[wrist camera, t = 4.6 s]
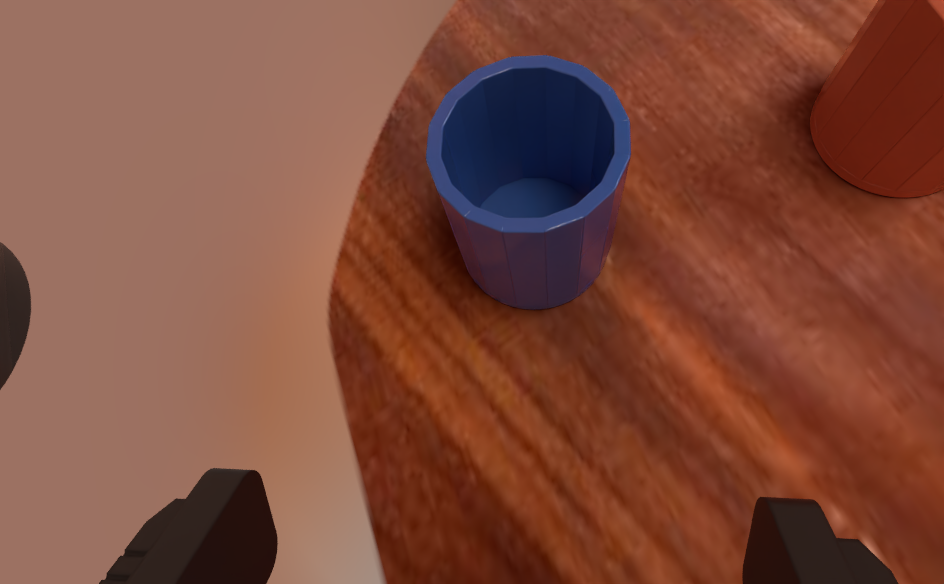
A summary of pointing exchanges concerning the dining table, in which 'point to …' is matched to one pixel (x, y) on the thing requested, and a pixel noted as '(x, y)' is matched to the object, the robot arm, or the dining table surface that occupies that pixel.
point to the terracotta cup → (887, 103)
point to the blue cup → (531, 176)
